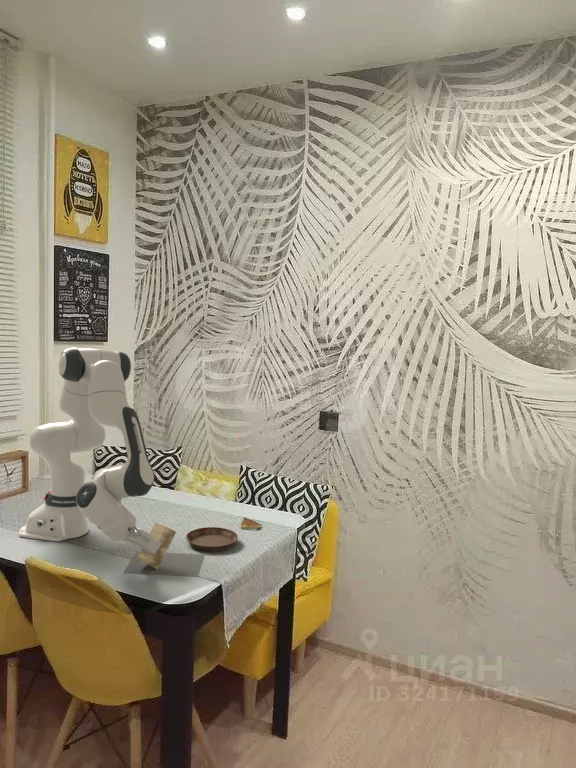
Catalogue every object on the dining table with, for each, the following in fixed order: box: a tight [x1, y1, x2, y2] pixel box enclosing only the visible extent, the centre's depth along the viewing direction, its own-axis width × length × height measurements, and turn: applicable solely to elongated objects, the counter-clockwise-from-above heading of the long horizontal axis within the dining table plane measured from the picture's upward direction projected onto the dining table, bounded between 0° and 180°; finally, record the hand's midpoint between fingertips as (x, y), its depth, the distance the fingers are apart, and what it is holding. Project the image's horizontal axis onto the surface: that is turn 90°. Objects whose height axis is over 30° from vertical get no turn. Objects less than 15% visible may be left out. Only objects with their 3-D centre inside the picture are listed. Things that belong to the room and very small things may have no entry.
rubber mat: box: [122, 550, 206, 578], centre depth 185 cm, size 22×17×1 cm
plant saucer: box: [185, 526, 239, 552], centre depth 207 cm, size 18×18×3 cm
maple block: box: [137, 522, 177, 569], centre depth 183 cm, size 5×5×12 cm
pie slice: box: [240, 516, 263, 530], centre depth 228 cm, size 11×8×2 cm
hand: (146, 548), depth 180 cm, fingers closed
